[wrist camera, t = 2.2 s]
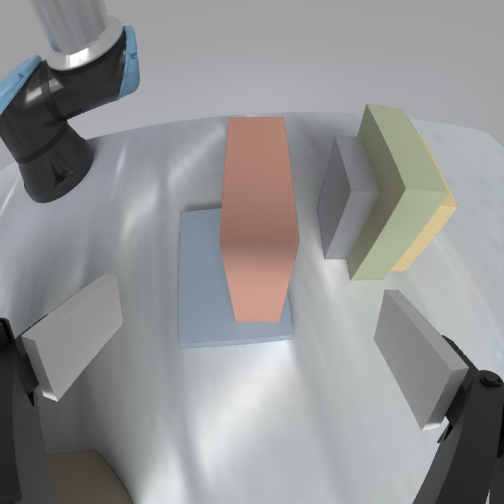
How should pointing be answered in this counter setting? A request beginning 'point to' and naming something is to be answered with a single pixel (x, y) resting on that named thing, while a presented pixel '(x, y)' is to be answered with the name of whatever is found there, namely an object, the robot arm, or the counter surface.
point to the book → (85, 479)
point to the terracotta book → (258, 218)
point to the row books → (398, 196)
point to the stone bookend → (346, 197)
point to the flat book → (214, 291)
